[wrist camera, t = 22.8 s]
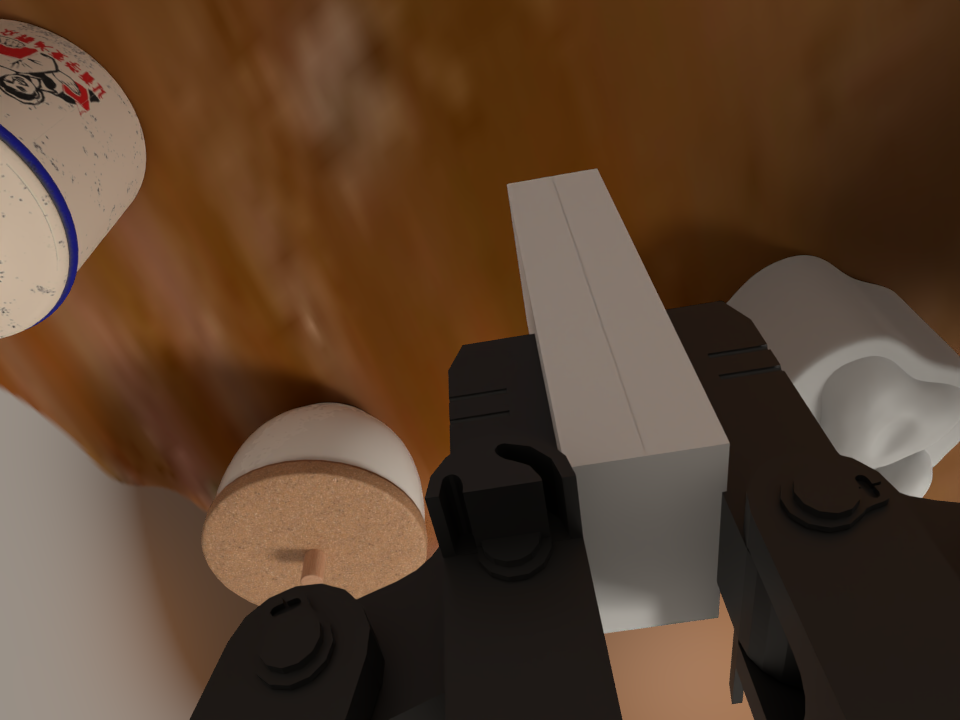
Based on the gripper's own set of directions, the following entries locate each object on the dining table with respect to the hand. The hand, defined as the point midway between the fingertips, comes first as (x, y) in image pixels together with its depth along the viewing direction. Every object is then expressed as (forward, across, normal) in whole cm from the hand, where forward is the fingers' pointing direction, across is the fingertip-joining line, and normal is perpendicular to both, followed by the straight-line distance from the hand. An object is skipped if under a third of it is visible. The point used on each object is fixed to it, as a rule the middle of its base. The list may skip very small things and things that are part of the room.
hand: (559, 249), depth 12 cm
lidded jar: (+20, +12, +20) cm, 31 cm away
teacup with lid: (+19, +20, 0) cm, 28 cm away
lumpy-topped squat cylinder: (+20, -13, +20) cm, 31 cm away
